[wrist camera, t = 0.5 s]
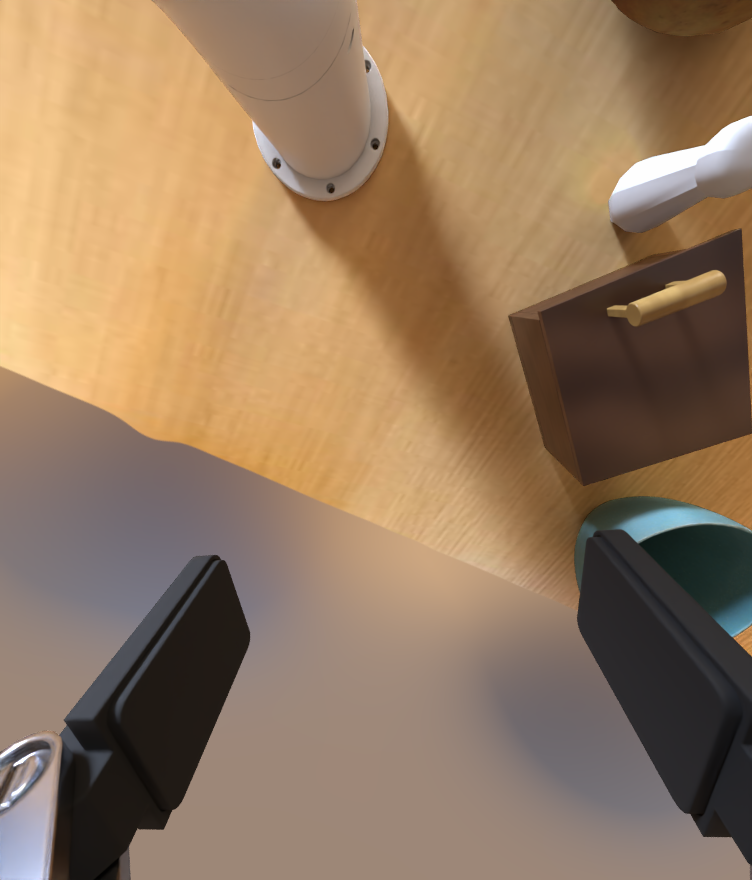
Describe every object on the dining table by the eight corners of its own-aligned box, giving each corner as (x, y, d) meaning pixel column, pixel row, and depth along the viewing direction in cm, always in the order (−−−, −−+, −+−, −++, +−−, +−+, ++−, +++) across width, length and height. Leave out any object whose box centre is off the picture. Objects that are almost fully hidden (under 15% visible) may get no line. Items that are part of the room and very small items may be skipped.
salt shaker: (641, 151, 33) (784, 64, 21) (674, 200, 34) (827, 146, 22) (586, 205, 34) (689, 154, 22) (619, 250, 36) (734, 225, 24)
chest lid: (537, 310, 30) (565, 313, 25) (732, 229, 27) (808, 214, 22) (579, 482, 36) (609, 512, 31) (744, 430, 33) (807, 454, 28)
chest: (508, 315, 39) (539, 320, 30) (653, 254, 36) (732, 240, 27) (544, 447, 44) (579, 482, 36) (673, 403, 41) (744, 430, 33)
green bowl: (667, 578, 51) (746, 659, 39) (537, 578, 52) (577, 656, 40) (704, 464, 44) (813, 522, 32) (554, 467, 45) (608, 524, 34)
